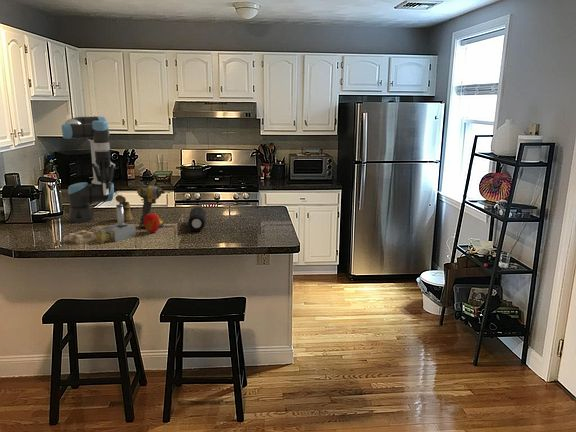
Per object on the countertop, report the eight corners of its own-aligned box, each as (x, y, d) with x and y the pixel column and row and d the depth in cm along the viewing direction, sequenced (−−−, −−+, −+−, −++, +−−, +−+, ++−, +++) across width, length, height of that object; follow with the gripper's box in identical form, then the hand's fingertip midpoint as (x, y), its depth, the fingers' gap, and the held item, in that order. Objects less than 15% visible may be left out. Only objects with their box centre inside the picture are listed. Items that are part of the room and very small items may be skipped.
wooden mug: (113, 223, 296) (111, 195, 291) (120, 218, 309) (118, 190, 305) (128, 223, 296) (126, 195, 292) (134, 218, 309) (132, 190, 305)
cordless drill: (167, 229, 282) (165, 188, 276) (136, 228, 286) (133, 186, 280) (174, 226, 291) (172, 185, 284) (144, 224, 294) (141, 184, 288)
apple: (160, 233, 274) (158, 213, 271) (143, 234, 272) (142, 214, 269) (160, 229, 282) (159, 209, 280) (145, 230, 281) (143, 210, 278)
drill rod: (117, 236, 268) (114, 205, 264) (122, 235, 271) (120, 204, 267) (121, 237, 267) (119, 206, 262) (127, 235, 269) (124, 204, 265)
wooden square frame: (69, 241, 260) (68, 234, 259) (84, 237, 267) (83, 230, 266) (80, 243, 255) (79, 236, 254) (94, 239, 262) (93, 232, 261)
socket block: (102, 238, 264) (101, 228, 263) (122, 232, 276) (122, 222, 274) (115, 241, 259) (114, 231, 257) (136, 235, 270) (135, 225, 269)
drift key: (96, 241, 258) (95, 234, 256) (112, 237, 266) (112, 229, 265) (102, 243, 255) (101, 235, 254) (118, 238, 264) (117, 230, 263)
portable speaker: (190, 221, 301) (189, 206, 299) (206, 221, 303) (205, 205, 300) (188, 232, 277) (187, 216, 274) (205, 232, 278) (205, 215, 276)
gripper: (86, 151, 248) (91, 195, 254) (109, 151, 246) (113, 196, 252) (95, 149, 255) (99, 192, 261) (117, 150, 253) (121, 193, 259)
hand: (106, 194), depth 257 cm, fingers closed
